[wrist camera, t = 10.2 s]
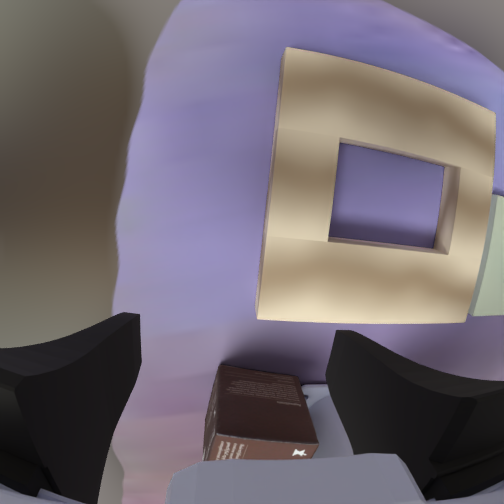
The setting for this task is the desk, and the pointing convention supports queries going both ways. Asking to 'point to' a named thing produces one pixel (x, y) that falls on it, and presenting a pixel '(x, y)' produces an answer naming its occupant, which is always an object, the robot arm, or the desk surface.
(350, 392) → the robot arm
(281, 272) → the pocket board
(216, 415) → the box
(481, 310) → the tile
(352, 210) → the desk surface
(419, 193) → the desk surface
